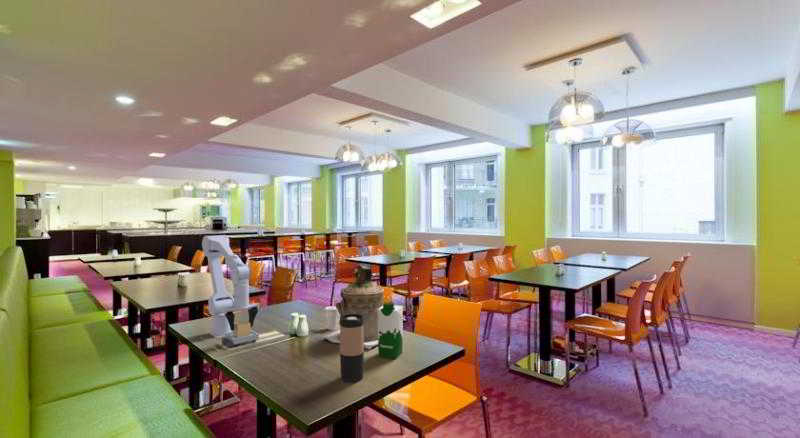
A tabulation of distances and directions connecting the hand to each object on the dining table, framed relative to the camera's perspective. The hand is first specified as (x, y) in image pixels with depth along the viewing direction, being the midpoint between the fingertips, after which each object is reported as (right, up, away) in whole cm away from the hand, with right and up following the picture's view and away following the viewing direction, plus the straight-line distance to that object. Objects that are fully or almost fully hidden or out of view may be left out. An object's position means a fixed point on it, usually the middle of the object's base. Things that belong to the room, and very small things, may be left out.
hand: (241, 328), depth 162 cm
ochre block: (0, -3, 0) cm, 3 cm away
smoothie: (+34, -6, +19) cm, 40 cm away
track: (+3, -6, +3) cm, 8 cm away
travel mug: (+50, -7, -34) cm, 61 cm away
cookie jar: (+49, -6, +7) cm, 50 cm away
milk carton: (+62, -7, -13) cm, 64 cm away
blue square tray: (0, -6, 0) cm, 6 cm away
